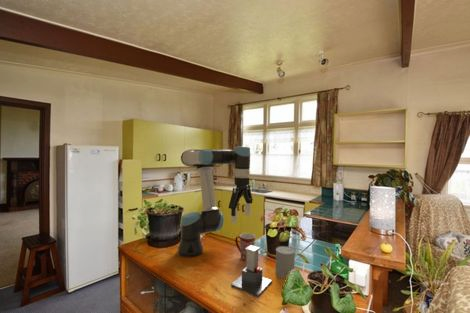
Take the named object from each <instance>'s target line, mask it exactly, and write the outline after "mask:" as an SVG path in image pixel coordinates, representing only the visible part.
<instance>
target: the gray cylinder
mask: <svg viewBox="0 0 470 313" xmlns="http://www.w3.org/2000/svg"><path fill="white" fill-rule="evenodd" d="M295 252H296V250H295V249H294V248H292V247H291V246H286V245H281V246H280V245H279V246H277V247H276V248H275V273H274V274H275V275H276V276H277V277H278V276H279V277H278V278H280V277H281V279H284V278H285V280H287V279H286V277H287V275H288V273H289V271H291V270H292V269H294V270H295V257H296V256H295V254H296V253H295Z"/></svg>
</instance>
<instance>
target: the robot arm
mask: <svg viewBox="0 0 470 313" xmlns="http://www.w3.org/2000/svg"><path fill="white" fill-rule="evenodd" d="M180 162H181V163H182V164H183V165H184V166H186V167H191V168H196V171H197V172H199V180H200V182H199V183H200V190H201V200H202V209H201V210H200V212H198V211H191V212H187V213H185V214H183V215H182V216H181V219H180V241H179V244H178V245H179V246H178V248H177V254H178V255H179V256H180V257H183V258H193V257H194V258H195V257H197V256H200V255H202V253H203V251H204V246H203V244H202V241H201V234H206V233H211V232H217V231H221V229H222V228H223V226H224V221H225V220H224V214H223V212H222V211H220V209H219V207H217V202H216V191H215V183H214V174H213V170H214V169H215V166H216V165H234V183H233V184H234V185H235V186H236V187H233V188H232V194H231V197H230V201H229V202H228V203H229V204H228V209H230V210H231V211H230V214H231V215H230V219H231V220H230V222H231V223H234V224H237V223H238V205H239V202H240V200H241V198H242V197H243V198H244V201H245V203H244V216H246V217H251V204H253V201H254V200H253V195H252V190H251V185H250V176H251V175H250V173H251V171H250V168H251V147H249V146H241V145H240V146H239V145H238V146H235V148H234V149H210V148H209V149H208V148H205V149H187V150H184V151H183V152H182V153H181V156H180Z"/></svg>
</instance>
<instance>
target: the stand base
mask: <svg viewBox="0 0 470 313" xmlns="http://www.w3.org/2000/svg"><path fill="white" fill-rule="evenodd" d="M272 283H273V280H272V279H269V278H268V277H264V276H263V268H262V267H259V266H258V267H257V268H256V272H255V273H252V272H249V271H246V267H244V268H243V269H242V270H241V276H239V277H238V278H237V279H236V280H235V281H233V282H232V283H231V284H230V286H231V287H232V288H235V289H237V290H239V291H242V292H244V293H247V294H249V295H251V296H254V297H257V298H259V297H260V296H261V295H262V294H263V293H264V292H265V291H266V289H267V288H268V287H269V286H270V285H271V284H272Z"/></svg>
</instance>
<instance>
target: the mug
mask: <svg viewBox="0 0 470 313" xmlns="http://www.w3.org/2000/svg"><path fill="white" fill-rule="evenodd" d="M238 239H239V240H240V241H239V242H240V244H239V242H238ZM255 240H256V235H255V234H253V233H249V232H243V233H241V234H240V235H237V236H236V237H235V240H234V241H235V246H236V248H237V250H238V252H239V253H240V260H241V261H243V262H247V251H245V248H247V247H248V246H250V245H253V246H255V242H256V241H255Z"/></svg>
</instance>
